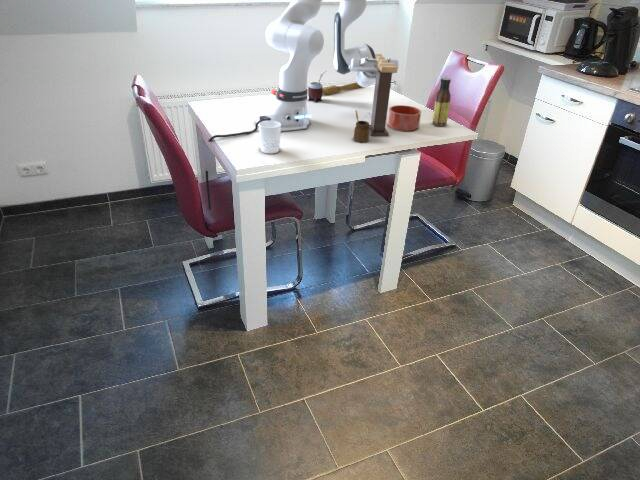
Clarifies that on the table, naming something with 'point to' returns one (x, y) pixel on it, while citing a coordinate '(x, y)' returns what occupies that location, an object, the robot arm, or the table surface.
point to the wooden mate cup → (361, 130)
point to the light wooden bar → (385, 64)
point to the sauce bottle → (442, 103)
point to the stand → (380, 103)
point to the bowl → (404, 118)
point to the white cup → (269, 136)
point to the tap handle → (339, 88)
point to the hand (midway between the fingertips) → (378, 59)
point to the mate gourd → (315, 90)
